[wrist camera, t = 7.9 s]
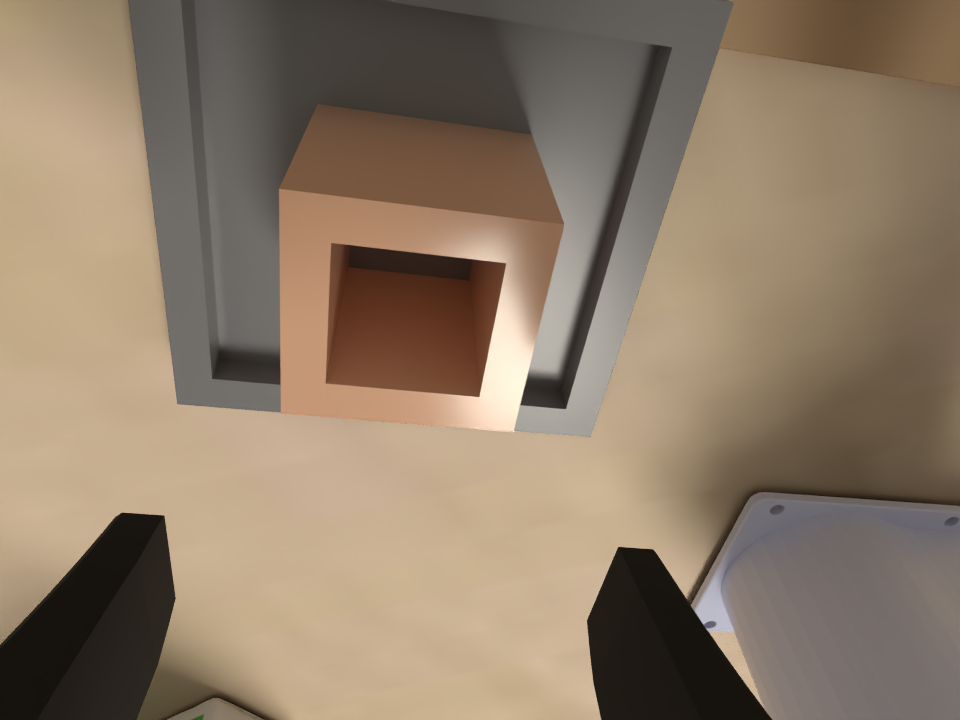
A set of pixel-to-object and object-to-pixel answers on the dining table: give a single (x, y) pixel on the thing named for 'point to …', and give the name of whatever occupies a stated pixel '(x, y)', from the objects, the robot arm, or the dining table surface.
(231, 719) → the skincare box
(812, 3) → the stand
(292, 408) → the brown cube box
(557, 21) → the tray
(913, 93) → the dining table surface
